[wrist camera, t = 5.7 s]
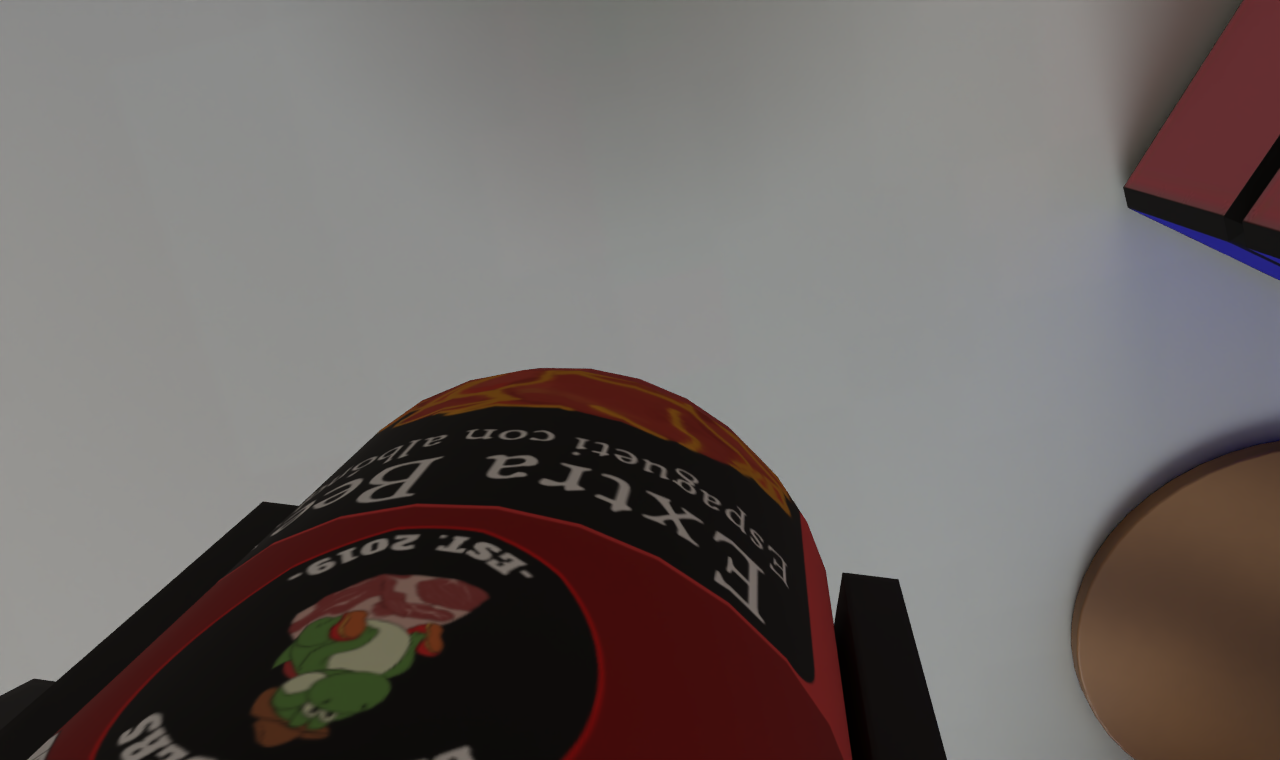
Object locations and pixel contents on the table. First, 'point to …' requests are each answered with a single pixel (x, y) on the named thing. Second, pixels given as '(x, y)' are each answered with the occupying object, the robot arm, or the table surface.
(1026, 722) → the table surface
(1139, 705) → the coaster
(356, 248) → the table surface
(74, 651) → the table surface
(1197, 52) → the table surface
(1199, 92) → the puzzle cube
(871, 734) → the robot arm
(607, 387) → the canned food
